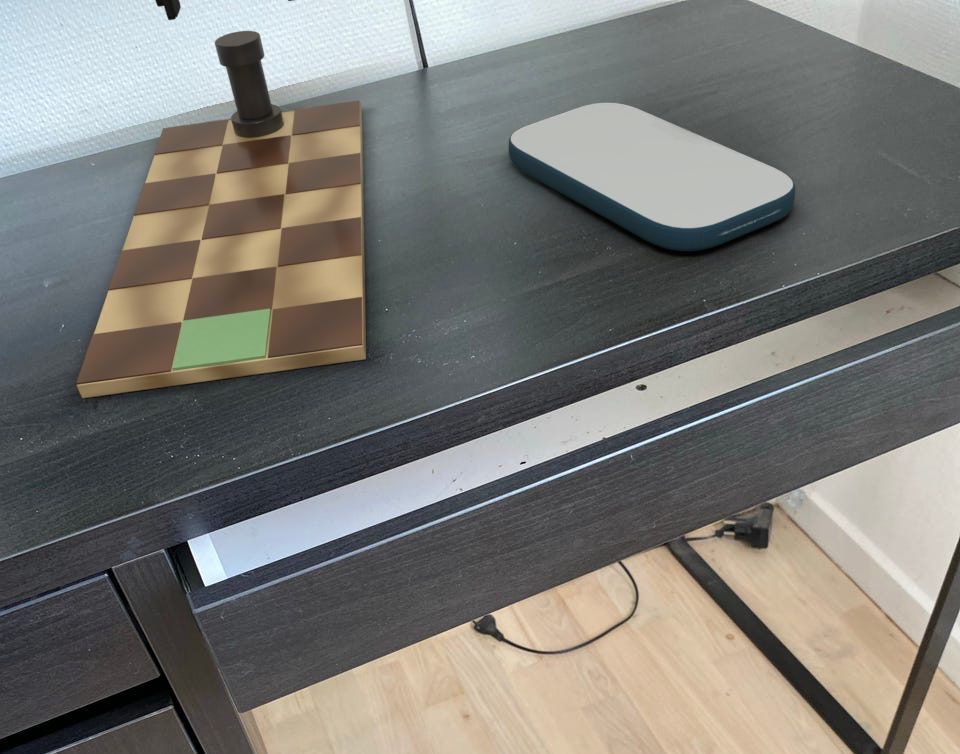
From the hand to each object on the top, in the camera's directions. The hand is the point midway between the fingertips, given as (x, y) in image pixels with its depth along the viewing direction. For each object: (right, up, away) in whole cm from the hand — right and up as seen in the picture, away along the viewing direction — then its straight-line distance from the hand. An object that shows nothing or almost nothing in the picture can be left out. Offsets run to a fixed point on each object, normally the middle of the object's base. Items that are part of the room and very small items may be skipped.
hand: (233, 5), depth 83 cm
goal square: (+4, -33, -18) cm, 37 cm away
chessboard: (+2, -20, -5) cm, 21 cm away
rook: (+1, -7, +7) cm, 9 cm away
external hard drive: (+32, -18, -7) cm, 37 cm away
